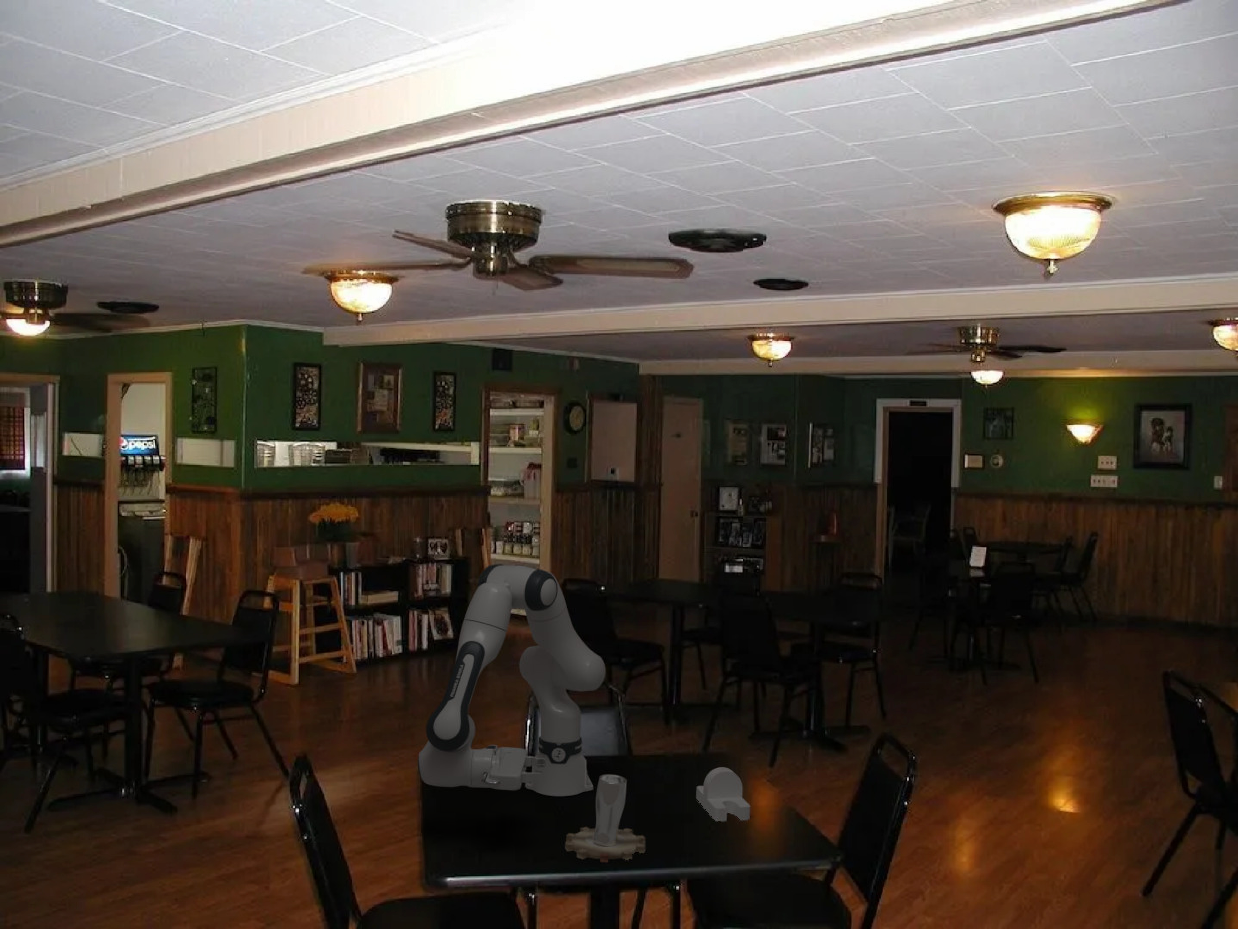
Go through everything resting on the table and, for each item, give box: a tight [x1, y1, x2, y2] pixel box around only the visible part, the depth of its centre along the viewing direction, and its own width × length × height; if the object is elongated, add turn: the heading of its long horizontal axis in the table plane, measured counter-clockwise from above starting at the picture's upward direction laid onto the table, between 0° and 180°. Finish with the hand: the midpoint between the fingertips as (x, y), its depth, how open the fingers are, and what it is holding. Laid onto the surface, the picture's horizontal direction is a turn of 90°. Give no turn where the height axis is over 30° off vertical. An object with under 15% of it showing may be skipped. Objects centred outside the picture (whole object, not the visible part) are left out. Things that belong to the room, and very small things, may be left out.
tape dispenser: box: [695, 766, 751, 822], centre depth 291 cm, size 10×18×11 cm, turn 13°
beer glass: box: [593, 773, 628, 846], centre depth 261 cm, size 7×7×15 cm
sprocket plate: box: [564, 826, 646, 863], centre depth 263 cm, size 19×19×2 cm
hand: (543, 769), depth 264 cm, fingers open, 8 cm apart
